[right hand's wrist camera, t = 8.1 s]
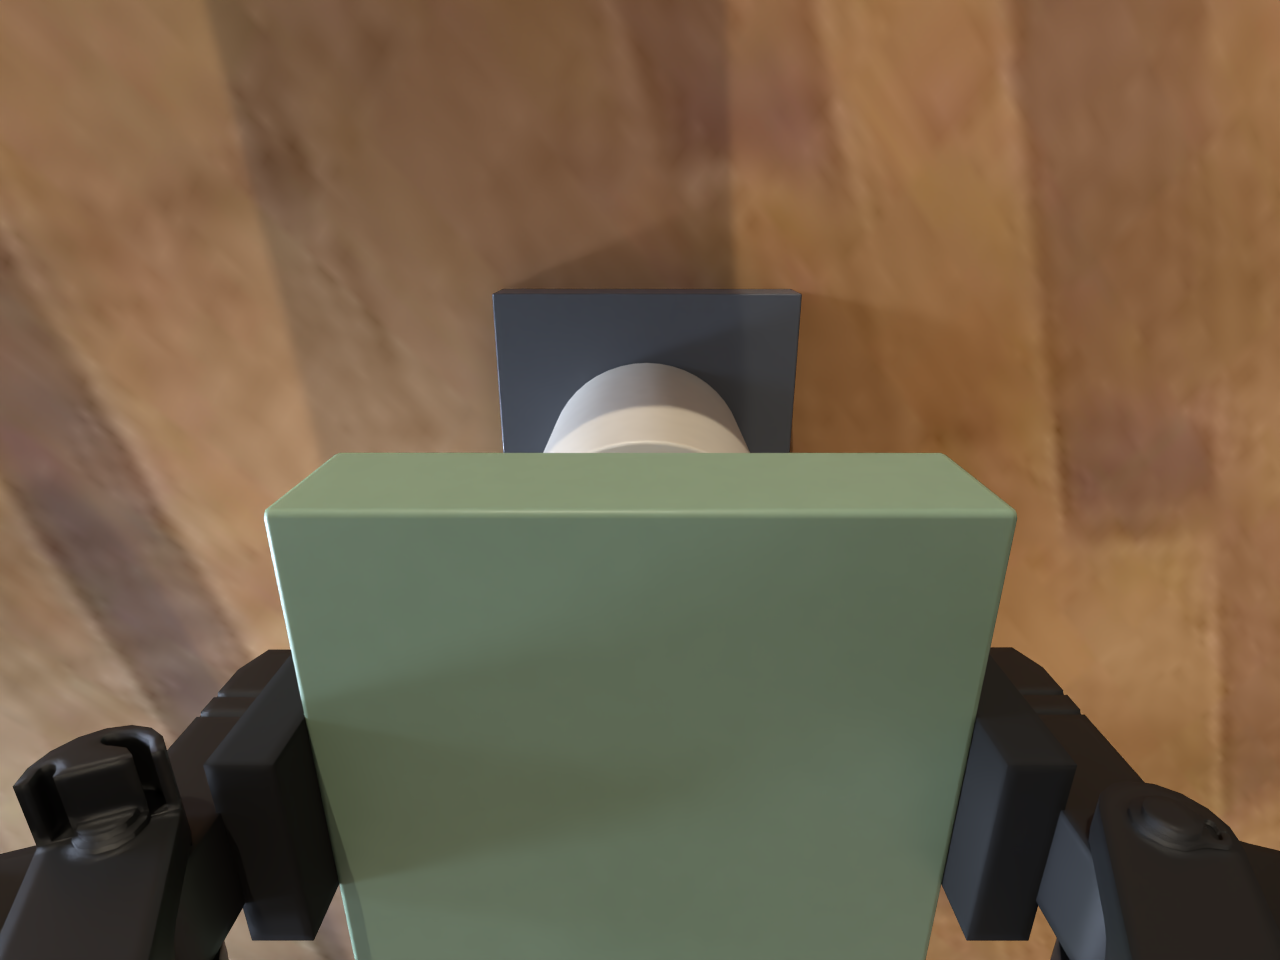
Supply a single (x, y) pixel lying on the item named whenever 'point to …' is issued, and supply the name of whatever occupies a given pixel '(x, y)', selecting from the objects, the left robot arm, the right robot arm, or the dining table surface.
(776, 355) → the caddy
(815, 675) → the green square block
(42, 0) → the dining table surface
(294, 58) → the dining table surface
